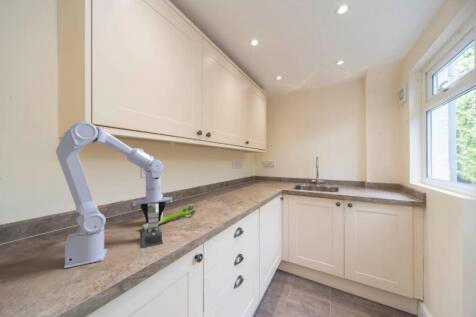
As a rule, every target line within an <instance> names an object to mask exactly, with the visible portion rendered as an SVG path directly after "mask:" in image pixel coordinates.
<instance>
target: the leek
mask: <svg viewBox="0 0 476 317" xmlns="http://www.w3.org/2000/svg"><path fill="white" fill-rule="evenodd" d="M194 208H196V205H195V206H194V205H189V206H188V207H184V208H182V210H181V211H179V212H177V213H174V214H170V215H167V216H164V217H163V218H161V219H160V221H159V223H158V226H159V225H160V224H163V223H166V222H169V221H171V220H173V219H177V218H180V217H183V216H184V217H185V216H188V215H190V216H191V217H193V215H196V214H195V213H196V212H197V211H196V210H194ZM140 228H143V230H145V229H148V223H144V224H142V225H140Z"/></svg>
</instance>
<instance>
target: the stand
mask: <svg viewBox="0 0 476 317" xmlns="http://www.w3.org/2000/svg"><path fill="white" fill-rule="evenodd" d="M158 231H159V232H156V231H151V233H148V229H145V230H144V229H142V230H141V232H142V233H141V240H142V241H141V243H142V244H141V246H142V247H141V249H144V248H149V247H153V246H154V247H155V246H160V245H163V244H164V241H163V231H162V227H161V226H159V228H158Z"/></svg>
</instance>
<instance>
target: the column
mask: <svg viewBox="0 0 476 317" xmlns="http://www.w3.org/2000/svg"><path fill="white" fill-rule="evenodd" d="M158 218H159V216H158V212H153V213H148V233H151V231H156V232H159V231H158V228H159V227H160V226H159V225H158V223H159V221H158Z"/></svg>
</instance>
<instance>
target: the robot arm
mask: <svg viewBox="0 0 476 317" xmlns="http://www.w3.org/2000/svg"><path fill="white" fill-rule="evenodd" d="M63 133H64V134H63V135H62V137H61V139H60V141H59V142H58V145H57V147H56V150H55V155H56V157H57V160H58V162H59V165H60V167H61V170H62V174H63V176H64V178H65V180H66V183H67V186H68V189H69V192H70V194H71V197H72V200H73V202H74V205H75V210H76V213H77V215H76V219H75V221H76V224H77V225H78V226H79V227H78V228H77V230H76V231H75V232H74V233H69V234H68V235H67V237H66V239H65V246H64V266H63V269H68V268H73V267H78V266H83V265H87V264H92V263H98V262H102V261H104V259H105V257H106V255H107V252H108V248H105V225H106V221H107V220H106V219H107V218H106V216H105V215H104V214H103V213H101V211H100V210H99V207H98V205H97V203H96V201H95V200H94V197H93V194H92V191H91V188H90V186H89V182H88V180H87V176H86V174H85V171H84V169H83V168H84V167H83V165H82V162H81V160H80V159H81V158H80V156H79V154H80V152H81V151H82V150H83V149H84V148H85V146H86V145H88V144H89V143H91V142H92V144H101V145H105V146H107V147H109V148H111V149H113V150H115V151H117V152H119V153H121V154H123V155H125V156H126V159H127V161H128V162H130V163H132V164H133V165H136V166H137V167H139V168H141V169H142V170H143V171H144V172H145V198H143V199H141V198H140V199H135V200H133V201H132V207H137V206H140V209H141V211H142V212H143V215H144V218H145V224H147V223H148V204H157V203H158V209H159V212H158V216H159V218H158V221H160V219H161V215H162V212H163V213H164V209H165V208H166V203H173V197H172V196H166V197H165V196H163V197H162V198H161V194H162V172H163V171H164V168H165V165H163V163H162V162H163V161H162V160H160V159H157V158H156V159H155V157H154V156H153V155H149V154H148V153H147V152H145V150H144V149H143V148H141V147H140V148H138V147H134V148H132V147H130V146H129V145H127V144H126V143H124V142H123V141H121V140H120V139H118V138H117V137H115V136H114V135H112V134H110V133H109V132H108V131H106V130H104V128H101V127H99V126H96V125H95V124H94V123H91V122H90V121H86V120H81V121H78V122H75V123H74V124H73V125H71V126H70V127H69V128H68V129H67V130H66V131H64V132H63Z"/></svg>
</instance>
